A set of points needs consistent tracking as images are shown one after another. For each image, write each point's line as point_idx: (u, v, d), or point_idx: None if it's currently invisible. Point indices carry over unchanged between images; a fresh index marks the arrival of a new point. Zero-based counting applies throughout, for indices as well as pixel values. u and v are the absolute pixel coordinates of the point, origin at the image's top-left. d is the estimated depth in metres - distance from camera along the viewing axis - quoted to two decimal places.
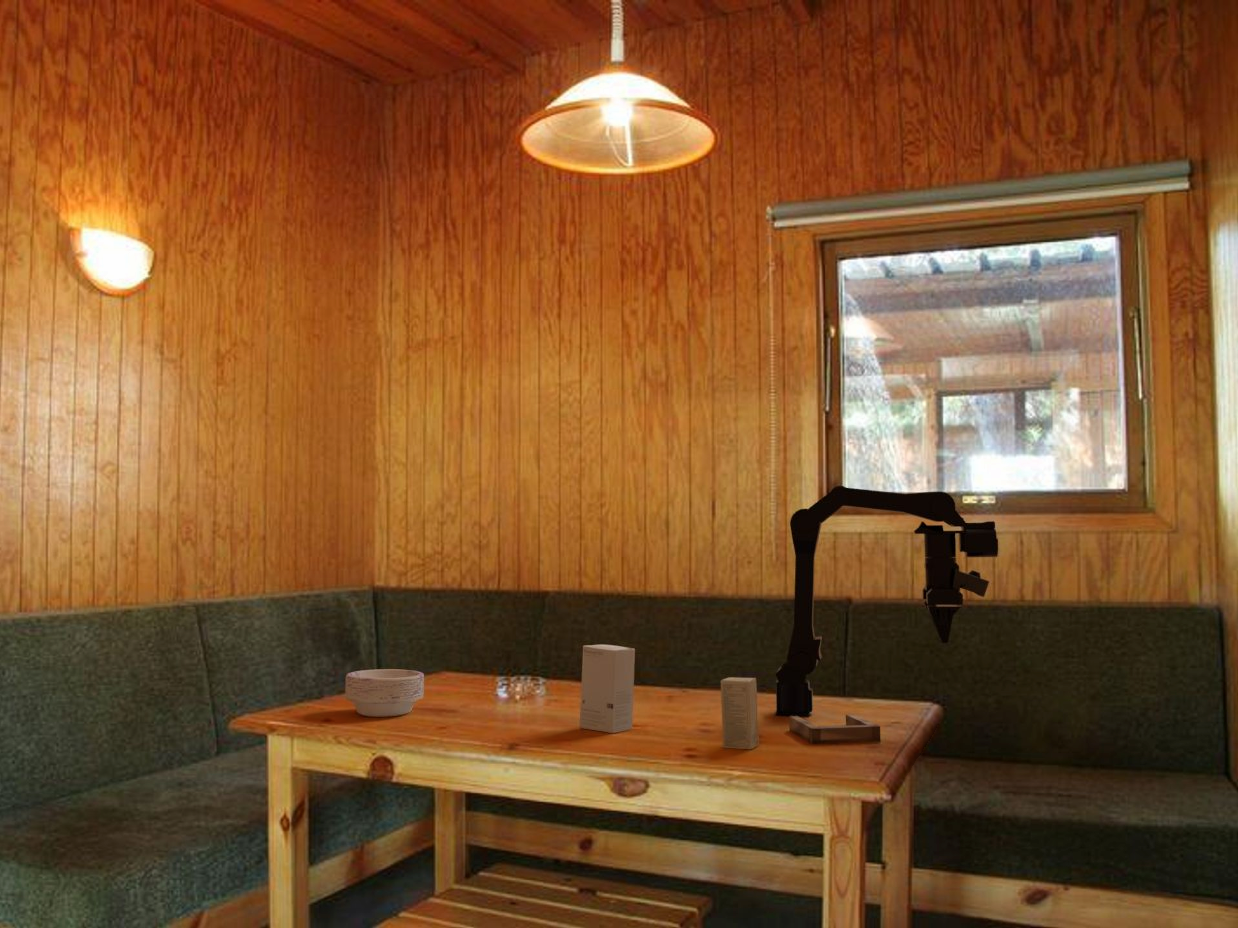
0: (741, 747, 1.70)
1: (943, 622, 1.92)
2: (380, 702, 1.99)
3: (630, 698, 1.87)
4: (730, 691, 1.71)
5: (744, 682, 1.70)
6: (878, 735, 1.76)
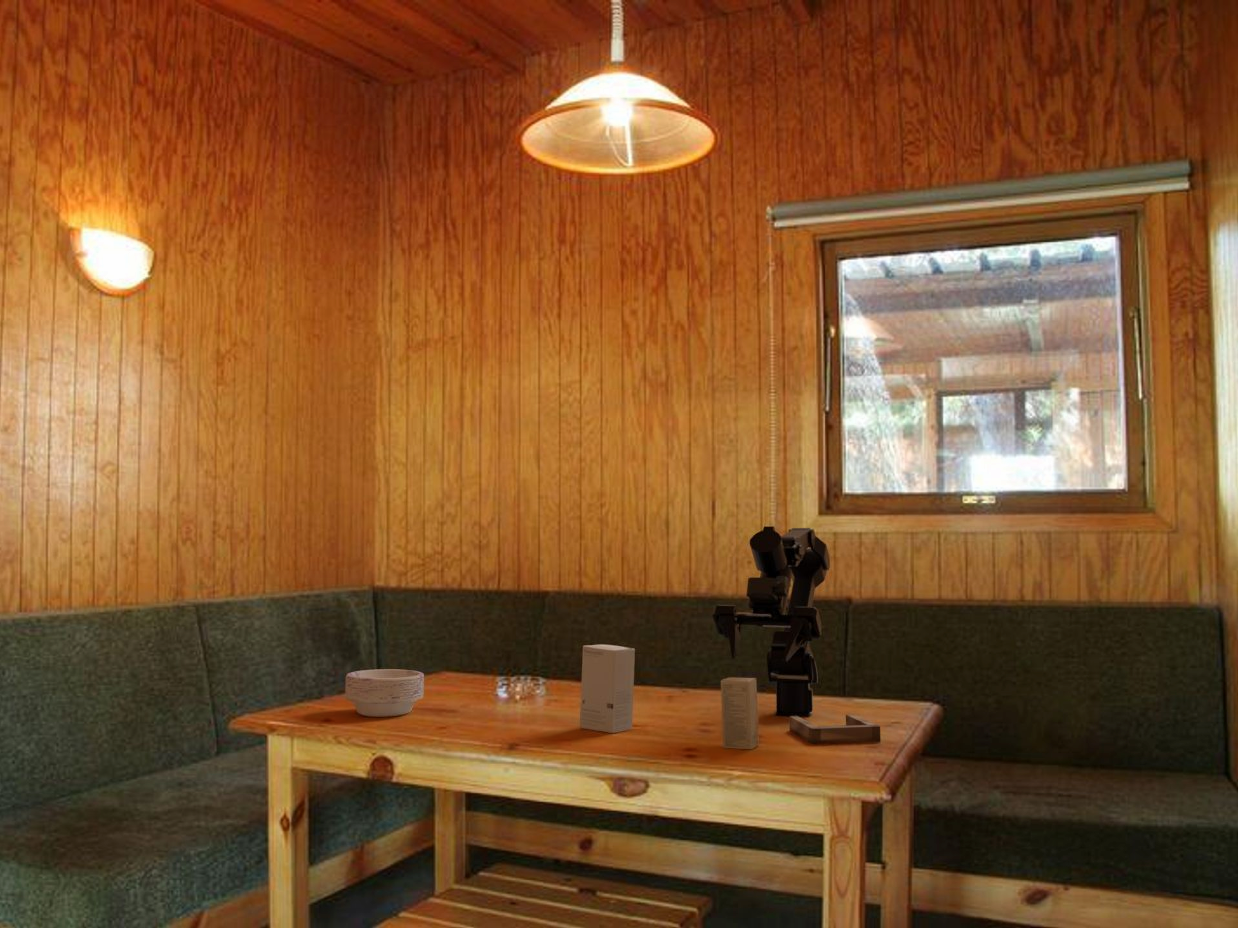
0: (741, 747, 1.70)
1: None
2: (380, 702, 1.99)
3: (630, 698, 1.87)
4: (730, 691, 1.71)
5: (744, 682, 1.70)
6: (878, 735, 1.76)
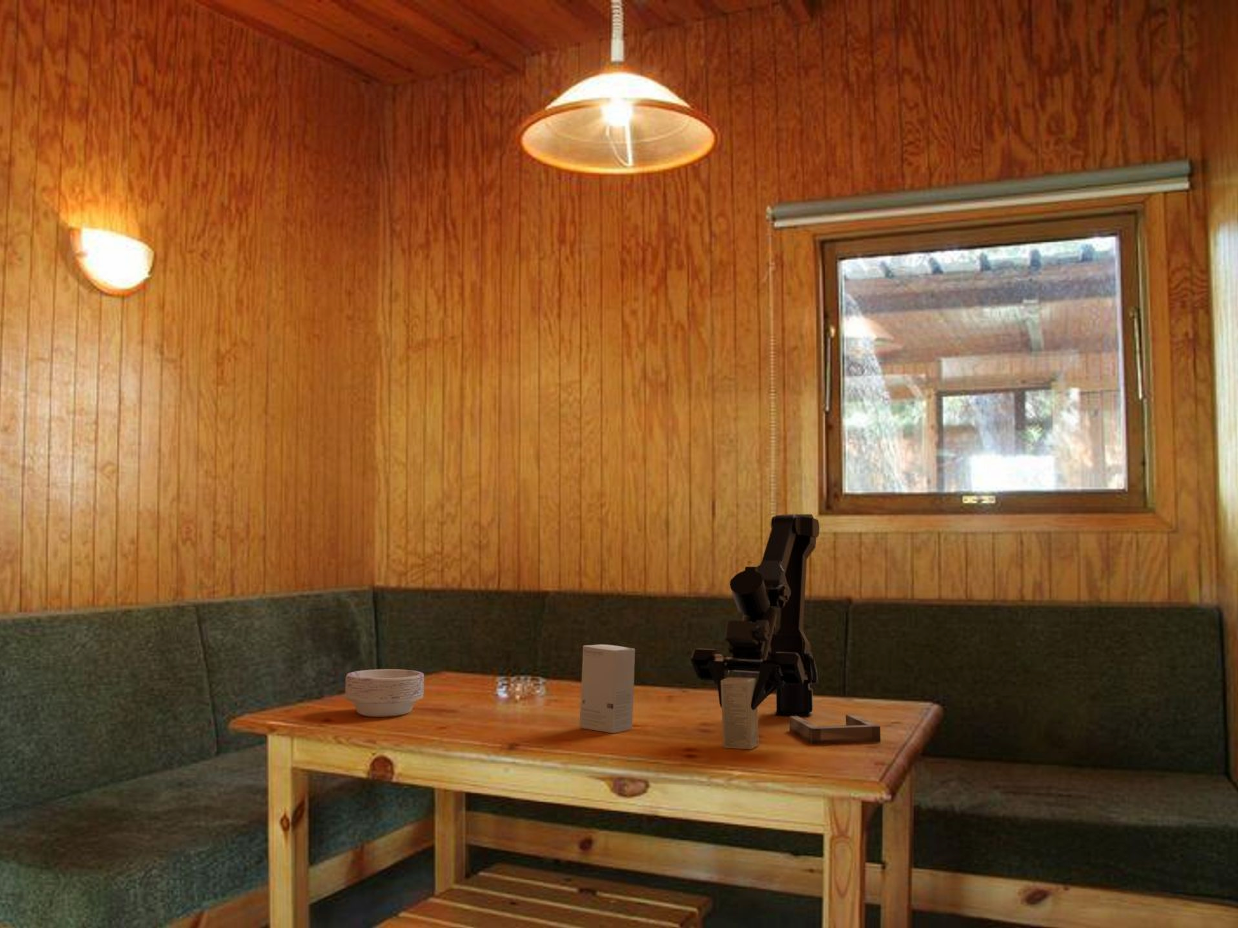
0: (741, 747, 1.70)
1: None
2: (380, 702, 1.99)
3: (630, 698, 1.87)
4: (730, 691, 1.71)
5: (744, 682, 1.70)
6: (878, 735, 1.76)
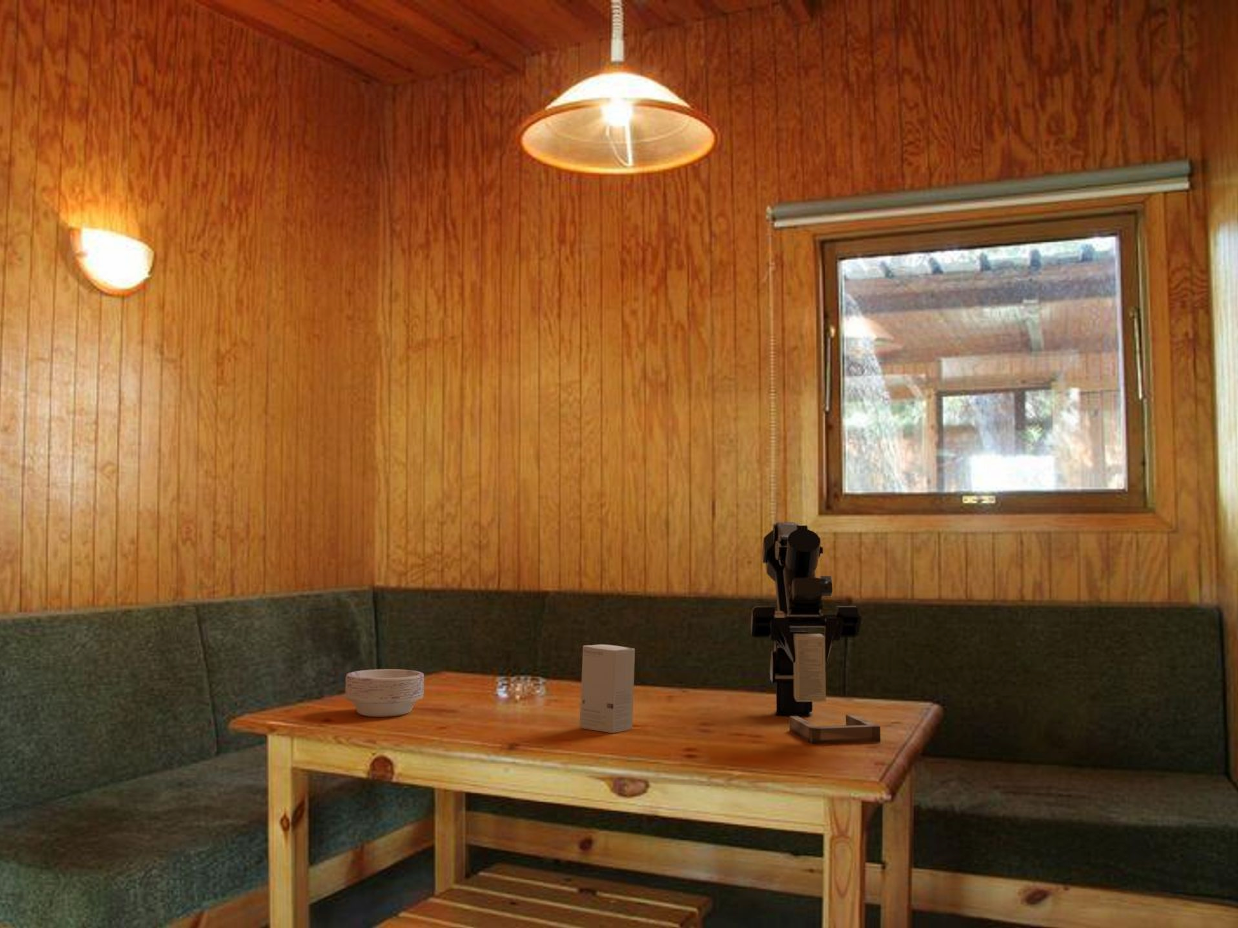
0: (815, 700, 1.75)
1: (785, 643, 1.80)
2: (380, 702, 1.99)
3: (630, 698, 1.87)
4: (805, 646, 1.76)
5: (820, 637, 1.76)
6: (878, 735, 1.76)
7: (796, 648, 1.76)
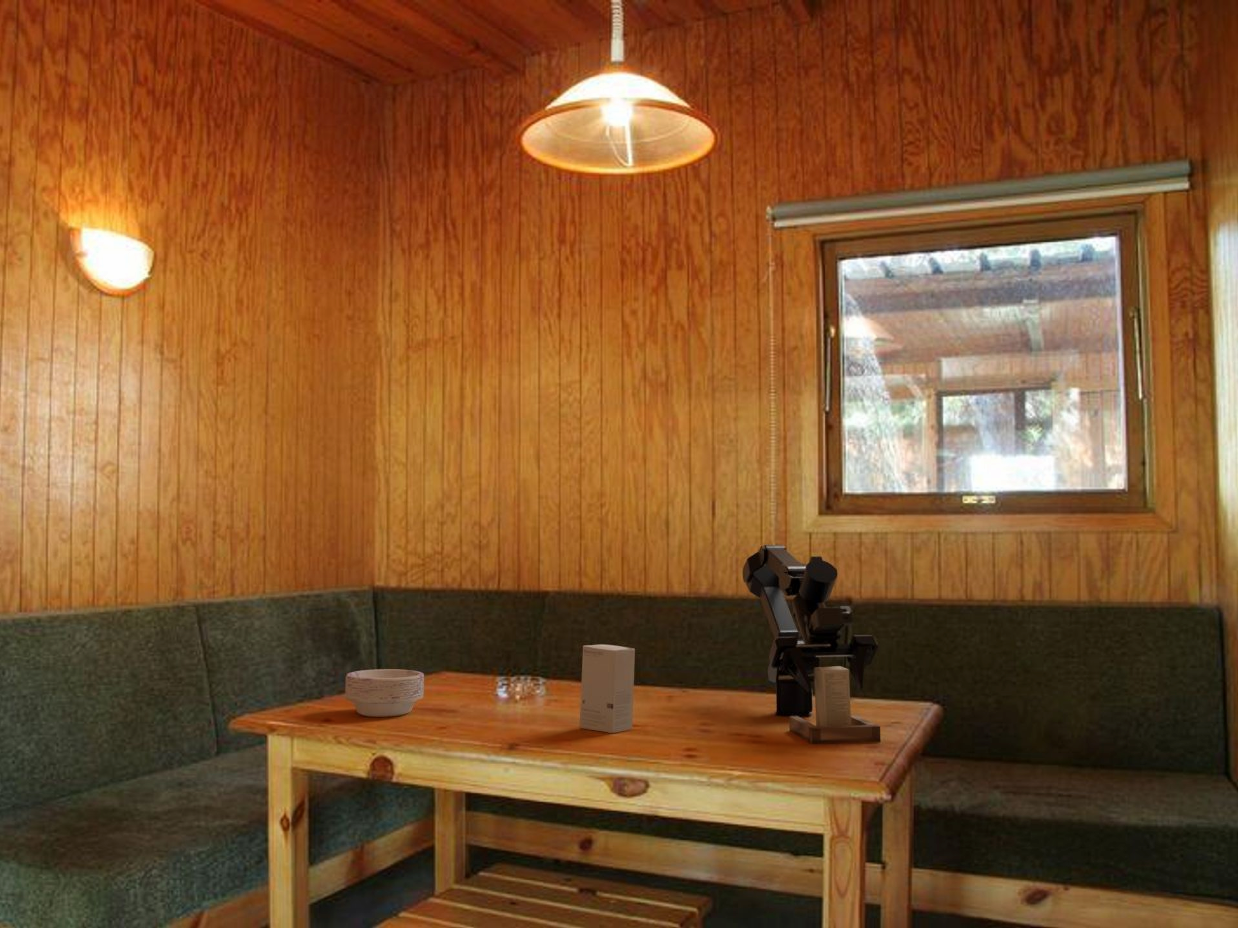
0: None
1: (797, 673, 1.82)
2: (380, 702, 1.99)
3: (630, 698, 1.87)
4: (831, 679, 1.79)
5: (844, 670, 1.80)
6: (878, 735, 1.76)
7: (822, 682, 1.79)
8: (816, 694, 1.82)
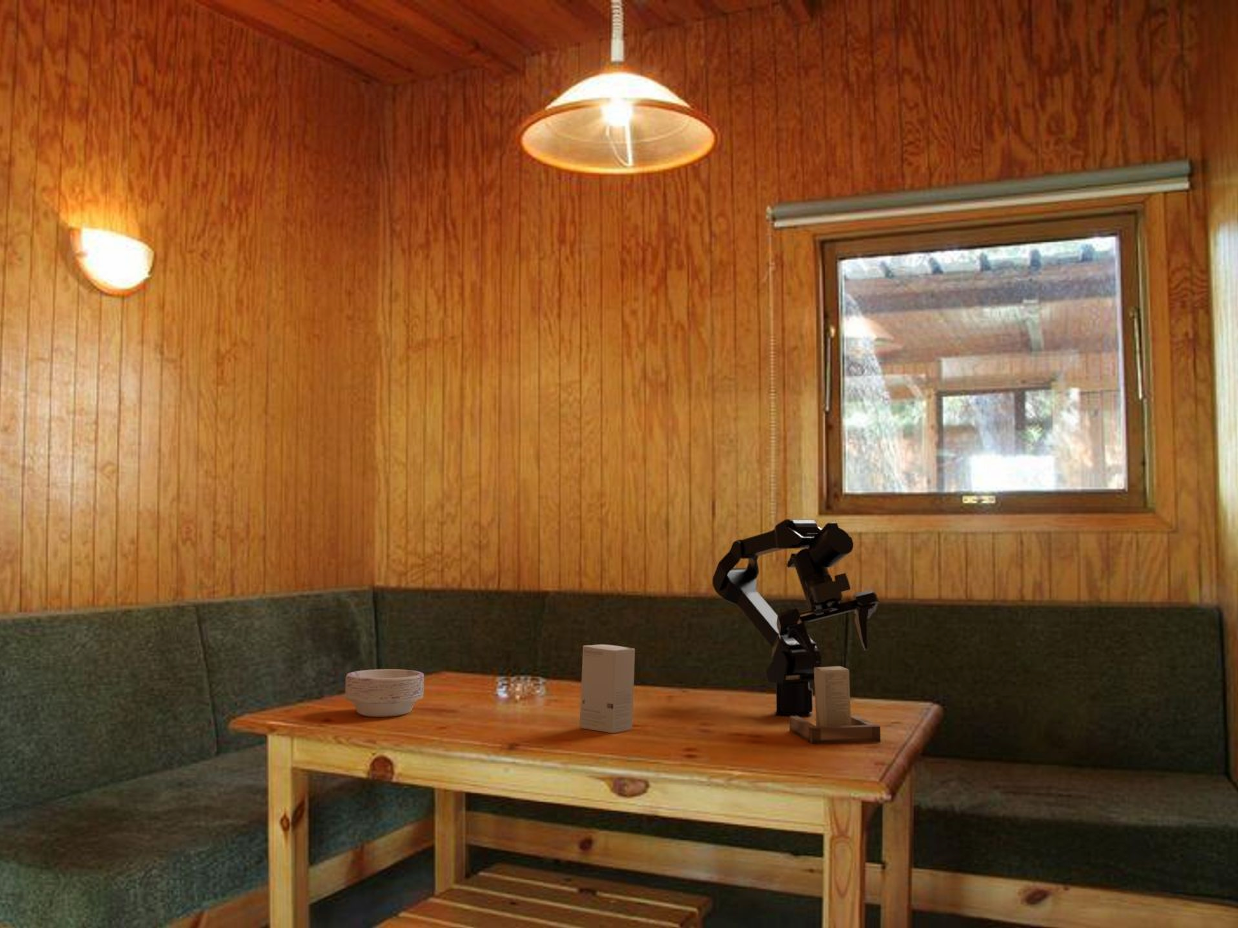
0: None
1: (804, 644, 1.92)
2: (380, 702, 1.99)
3: (630, 698, 1.87)
4: (831, 679, 1.79)
5: (844, 670, 1.80)
6: (878, 735, 1.76)
7: (822, 682, 1.79)
8: (816, 694, 1.82)
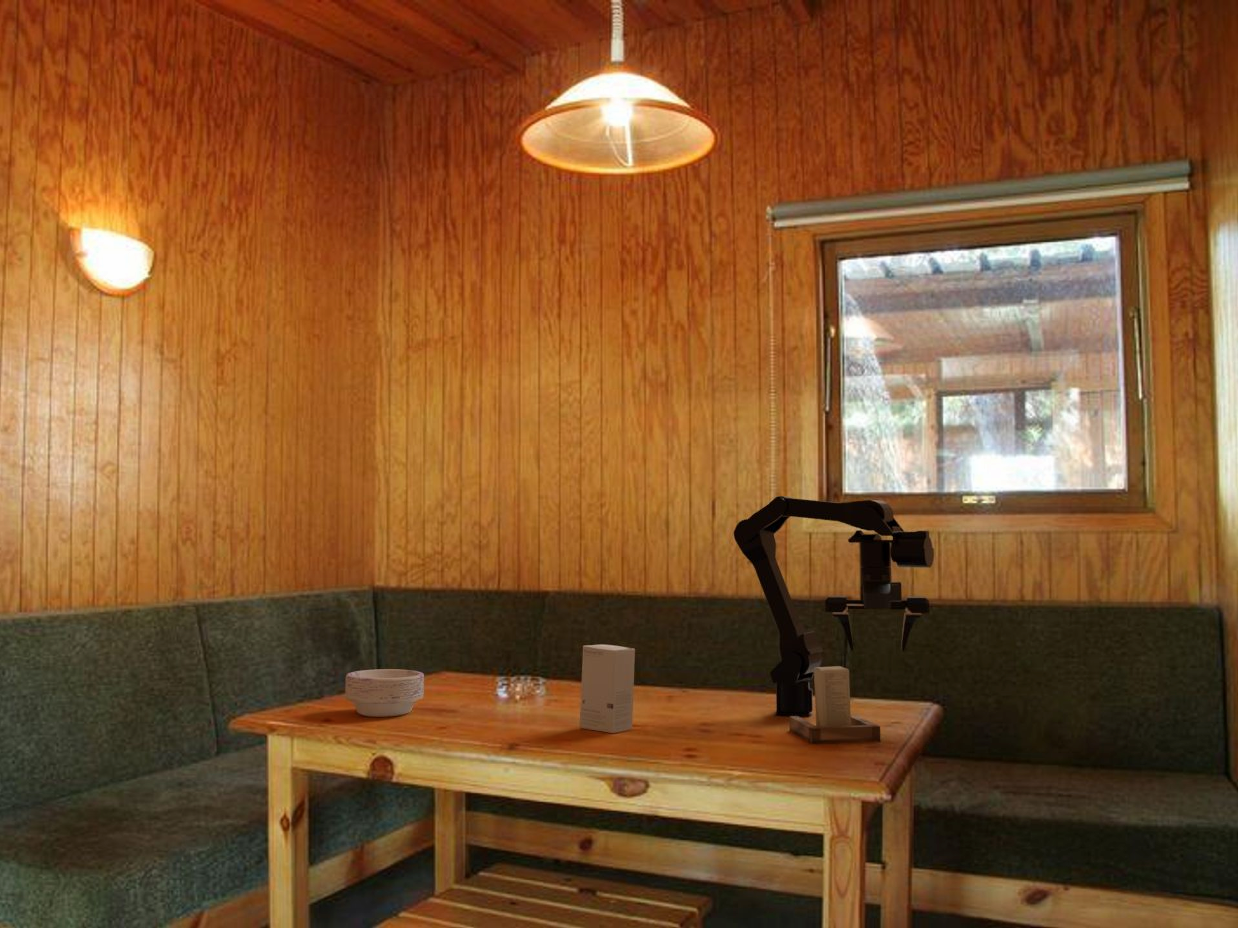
0: None
1: None
2: (380, 702, 1.99)
3: (630, 698, 1.87)
4: (831, 679, 1.79)
5: (844, 670, 1.80)
6: (878, 735, 1.76)
7: (822, 682, 1.79)
8: (816, 694, 1.82)
